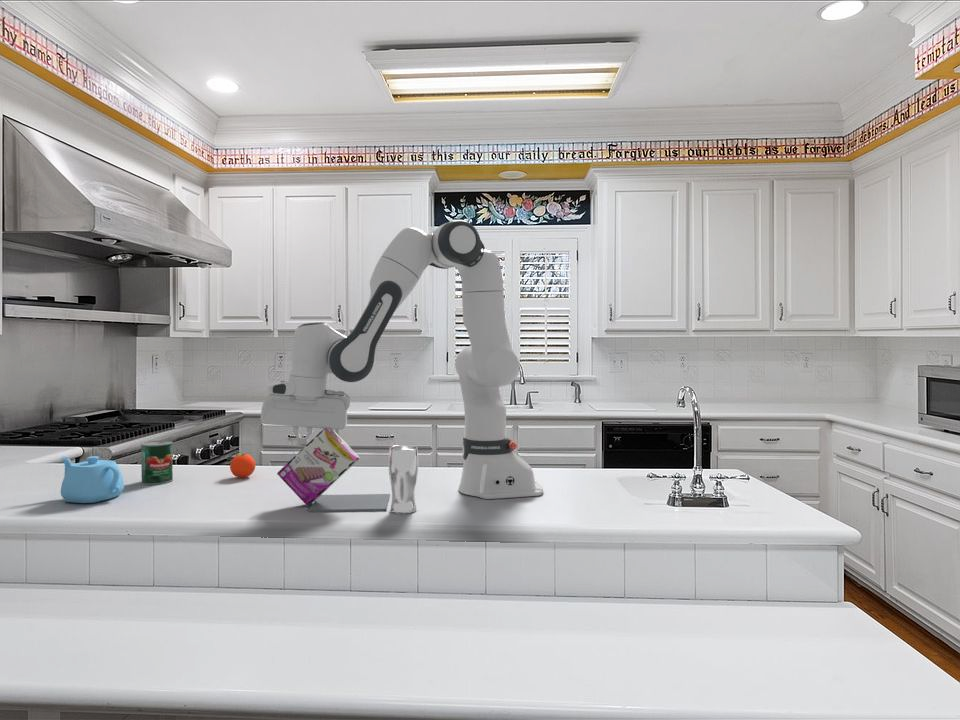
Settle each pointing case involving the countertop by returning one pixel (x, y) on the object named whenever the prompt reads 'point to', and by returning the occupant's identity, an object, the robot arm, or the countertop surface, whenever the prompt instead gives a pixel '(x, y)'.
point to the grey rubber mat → (351, 503)
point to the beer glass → (403, 478)
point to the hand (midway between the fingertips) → (302, 445)
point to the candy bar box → (318, 465)
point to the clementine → (242, 465)
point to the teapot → (91, 480)
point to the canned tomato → (156, 462)
